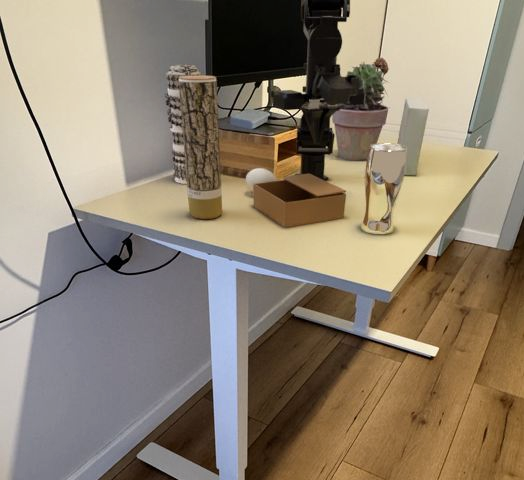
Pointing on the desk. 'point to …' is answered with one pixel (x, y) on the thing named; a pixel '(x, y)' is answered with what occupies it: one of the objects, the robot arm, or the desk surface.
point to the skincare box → (413, 131)
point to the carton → (296, 204)
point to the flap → (313, 184)
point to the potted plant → (362, 114)
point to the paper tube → (201, 144)
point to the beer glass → (382, 185)
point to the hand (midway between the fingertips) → (316, 143)
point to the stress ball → (259, 177)
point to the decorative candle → (177, 116)
